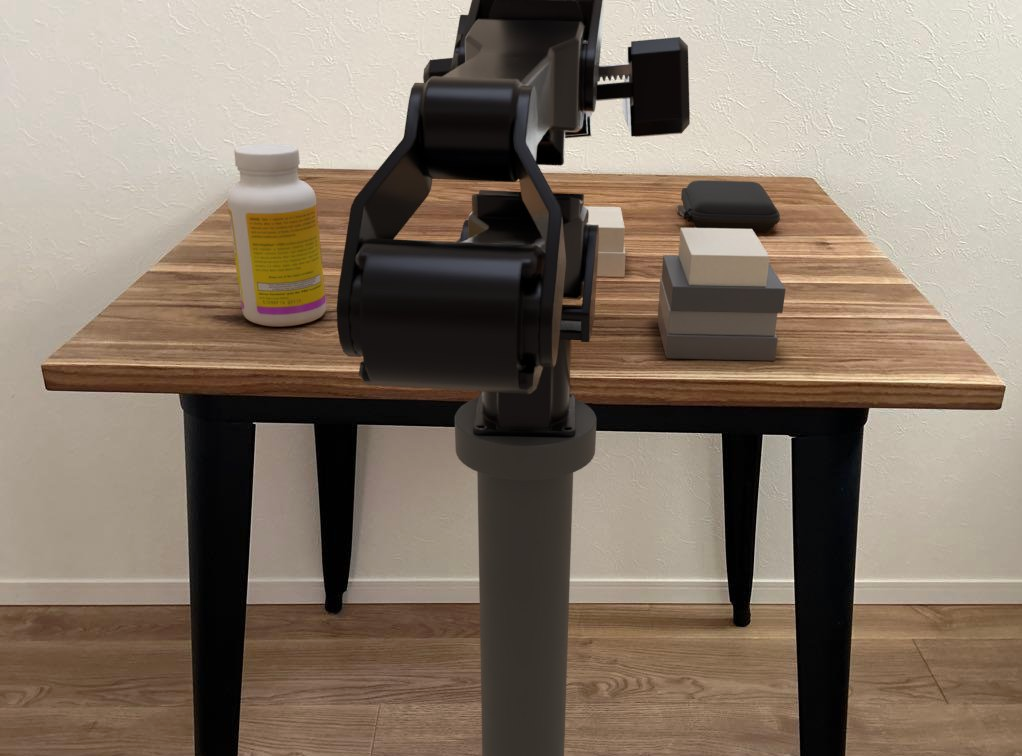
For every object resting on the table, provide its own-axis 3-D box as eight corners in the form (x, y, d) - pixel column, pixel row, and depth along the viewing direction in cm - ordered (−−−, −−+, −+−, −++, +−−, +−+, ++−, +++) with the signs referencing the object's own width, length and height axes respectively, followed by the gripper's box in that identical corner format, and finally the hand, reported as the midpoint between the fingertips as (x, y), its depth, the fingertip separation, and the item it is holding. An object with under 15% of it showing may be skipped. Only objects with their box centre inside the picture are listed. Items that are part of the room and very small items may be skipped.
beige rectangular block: (766, 287, 75) (769, 256, 74) (688, 285, 75) (691, 254, 74) (749, 257, 82) (752, 228, 81) (678, 256, 82) (680, 227, 81)
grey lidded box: (776, 361, 77) (785, 288, 75) (666, 358, 77) (671, 286, 75) (757, 324, 85) (765, 256, 82) (657, 322, 85) (661, 254, 82)
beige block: (624, 277, 96) (627, 228, 94) (558, 275, 96) (559, 226, 94) (620, 252, 104) (622, 206, 101) (559, 251, 104) (560, 205, 101)
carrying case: (670, 203, 123) (678, 234, 110) (672, 176, 122) (680, 204, 109) (762, 205, 123) (780, 236, 110) (765, 178, 121) (784, 206, 108)
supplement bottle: (343, 316, 85) (330, 148, 79) (274, 335, 81) (254, 159, 74) (294, 298, 89) (277, 137, 83) (226, 315, 85) (202, 147, 78)
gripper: (688, -66, 65) (683, -22, 79) (392, -35, 67) (440, 2, 82) (692, 128, 68) (687, 136, 83) (411, 150, 71) (454, 154, 85)
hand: (566, 104), depth 83 cm, fingers open, 9 cm apart
